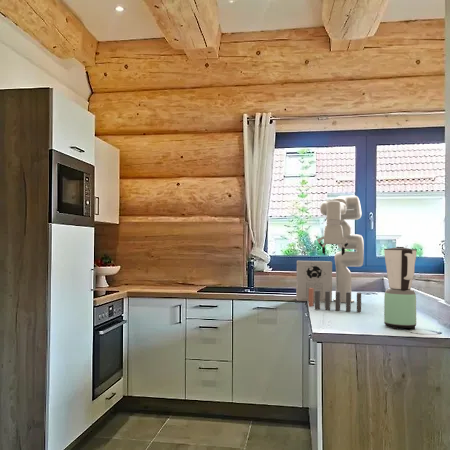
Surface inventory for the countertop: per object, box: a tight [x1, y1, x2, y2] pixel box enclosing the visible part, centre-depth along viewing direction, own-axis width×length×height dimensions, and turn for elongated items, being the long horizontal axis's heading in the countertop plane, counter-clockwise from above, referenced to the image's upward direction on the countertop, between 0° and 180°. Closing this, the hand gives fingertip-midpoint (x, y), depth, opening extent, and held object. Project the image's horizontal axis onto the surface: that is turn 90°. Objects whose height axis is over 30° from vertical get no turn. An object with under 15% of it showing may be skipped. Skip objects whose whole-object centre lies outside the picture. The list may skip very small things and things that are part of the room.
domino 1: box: [308, 288, 314, 307], centre depth 264 cm, size 5×2×10 cm, turn 160°
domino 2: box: [314, 290, 321, 311], centre depth 251 cm, size 5×2×10 cm, turn 160°
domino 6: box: [356, 291, 362, 313], centre depth 243 cm, size 5×2×10 cm, turn 160°
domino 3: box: [324, 291, 331, 311], centre depth 249 cm, size 5×2×10 cm, turn 160°
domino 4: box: [334, 291, 341, 312], centre depth 247 cm, size 5×2×10 cm, turn 160°
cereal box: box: [295, 260, 333, 303], centre depth 290 cm, size 22×8×25 cm, turn 84°
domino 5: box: [345, 291, 352, 313], centre depth 245 cm, size 5×2×10 cm, turn 160°
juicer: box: [383, 246, 418, 331], centre depth 197 cm, size 19×13×35 cm
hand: (333, 255), depth 247 cm, fingers open, 9 cm apart
